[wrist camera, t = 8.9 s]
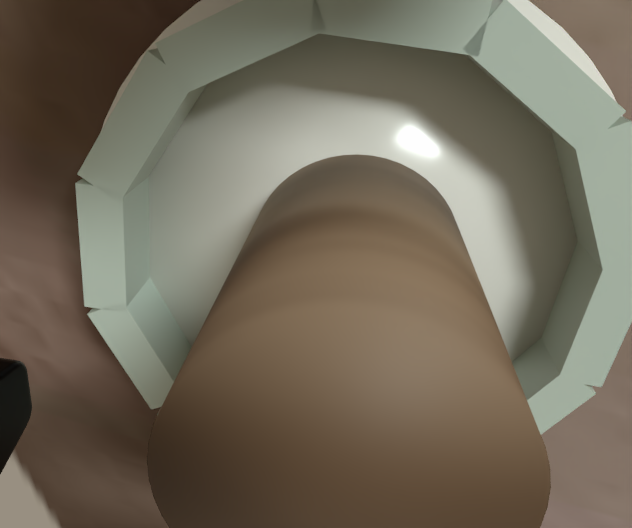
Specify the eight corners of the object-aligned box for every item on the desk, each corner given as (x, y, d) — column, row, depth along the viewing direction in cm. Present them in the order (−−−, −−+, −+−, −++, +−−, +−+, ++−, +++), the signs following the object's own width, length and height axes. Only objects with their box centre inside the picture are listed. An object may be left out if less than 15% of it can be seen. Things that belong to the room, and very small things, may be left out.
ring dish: (531, 475, 16) (552, 536, 15) (110, 407, 17) (78, 459, 15) (732, 2, 11) (810, 2, 9) (84, -90, 11) (24, -108, 9)
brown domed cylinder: (434, 356, 14) (487, 641, 8) (245, 327, 14) (148, 584, 8) (485, 172, 12) (615, 363, 6) (260, 139, 12) (144, 290, 6)
